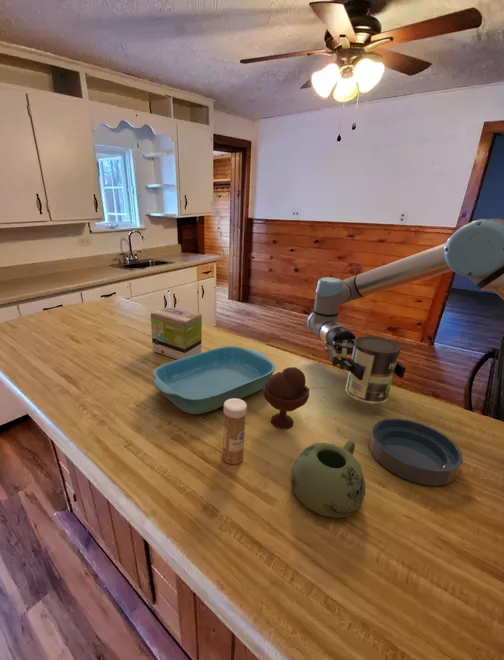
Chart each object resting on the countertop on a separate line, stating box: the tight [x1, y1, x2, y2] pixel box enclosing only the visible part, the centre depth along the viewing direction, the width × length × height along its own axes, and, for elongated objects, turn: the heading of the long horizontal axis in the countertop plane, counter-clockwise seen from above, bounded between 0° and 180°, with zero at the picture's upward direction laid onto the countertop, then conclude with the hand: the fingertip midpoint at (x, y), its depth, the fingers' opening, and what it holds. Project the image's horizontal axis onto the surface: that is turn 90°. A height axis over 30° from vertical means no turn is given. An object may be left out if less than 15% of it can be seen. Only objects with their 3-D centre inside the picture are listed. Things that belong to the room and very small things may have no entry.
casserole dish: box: [152, 345, 276, 416], centre depth 95 cm, size 37×22×7 cm, turn 127°
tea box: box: [150, 306, 203, 360], centre depth 116 cm, size 15×10×15 cm, turn 55°
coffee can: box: [344, 335, 402, 405], centre depth 85 cm, size 10×10×14 cm
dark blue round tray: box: [368, 417, 464, 486], centre depth 71 cm, size 16×16×4 cm
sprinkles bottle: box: [221, 398, 248, 465], centre depth 69 cm, size 5×5×14 cm
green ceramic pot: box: [291, 439, 366, 519], centre depth 62 cm, size 16×13×9 cm
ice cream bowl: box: [261, 366, 310, 430], centre depth 80 cm, size 11×11×15 cm
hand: (382, 373), depth 81 cm, fingers closed on coffee can, 10 cm apart
